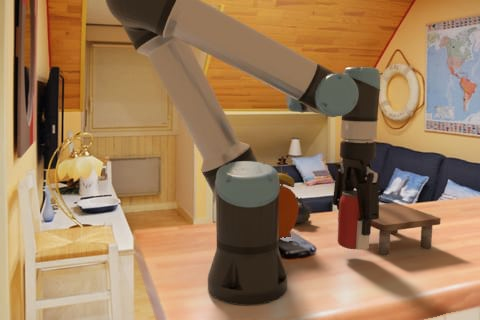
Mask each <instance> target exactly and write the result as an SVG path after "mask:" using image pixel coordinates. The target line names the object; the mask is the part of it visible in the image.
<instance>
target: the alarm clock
mask: <svg viewBox="0 0 480 320" xmlns="http://www.w3.org/2000/svg"><path fill="white" fill-rule="evenodd" d="M271 163H273V161H270V162H268V164H271ZM277 163H280V172H277V173H278V176H279V183H280V191H279V229H278V240H279V239H280V238H282V237H284V238H286V237H291V236H292V235H291V234H292V233H291V231H292V230H293V228H294V227H295V225H296V220H297V218H298V211H299V207H298V200H297V198H296V197H297V195H296V193H294V192H293V190H291V189H290V188H288V187H291V188H295V180H294V178H292V177H291V176H290V175H289V173H288V172H286V173H284V172H283V166H282V161H278V160H277ZM286 186H287V187H286Z"/></svg>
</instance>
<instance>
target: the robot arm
mask: <svg viewBox="0 0 480 320" xmlns="http://www.w3.org/2000/svg"><path fill="white" fill-rule="evenodd" d="M105 3H106V6H107V8H108V10H109V12H110V13H111V15H112V16H113V17H114V19H116V21H117V22H119V23H120V24H121V26H122V28H123V29H124V31H125V34H126V35H127V37H128V39H129V41H130V43H131V44H132V46H133V48H134V50H135V51H136V53H138V54H140V55H143V56H146V57H147V58H148V60H149V62H150V63H151V65H152V67H153V69H154V71H155V73H156V74H157V77H158V78H159V81H160V82H161V84H162V86H163V88H164V89H165V91H166V94H167V95H168V97H169V99H170V101H171V102H172V104H173V106H174V108H175V110H176V112H177V113H178V115H179V117H180V119H181V121H182V123H183V125H184V127H185V128H186V130H187V132H188V134H189V136H190V138H191V140H192V141H193V143H194V145H195V148H196V149H197V151H198V152H199V154H200V156H201V159H202V165H201V168H200V172H201V174H202V175H203V177H204V178H205V181H206V183H207V184H208V186H209V187H210V190H211V192H212V194H213V196H214V198H215V211H216V212H215V214H216V217H215V219H216V223H215V224H216V249H215V254H214V256H213V259H212V263H211V266H210V268H209V269H210V270H209V273H208V276H207V290H208V293H209V294H210V295H211V296H212V297H214V298H215V299H217V300H220V301H222V302H225V303H227V304H232V305H241V306H242V305H244V306H248V305H249V306H252V305H256V306H257V305H262V304H267V303H271V302H272V303H273V302H274V301H277V300H279V299H280V298H282V297H283V296H284V295H285V294H286V293H287V291H288V276H287V272H286V269H285V265H284V262H283V260H282V256H281V253H280V250H279V239H278V229H279V191H280V185H281V183H280V182H279V176H278V173H279V172H278V171H277V170H276V168H274V167H273V166H272V165H269V164H268V163H264V162H260V161H259V160H258V159H257V157H256V155H255V153H254V152H253V150H252V147H251V146H250V144H249V143H245V142H242V141H240V140H239V138H238V136H237V134H236V132H235V130H234V127H232V125H231V123H230V120H229V119H228V117H227V115H226V112H225V111H224V109H223V107H222V105H221V104H220V100H218V97H217V95H216V93H215V91H214V89H213V88H212V86H211V84H210V81H209V80H208V78H207V76H206V74H205V73H204V71H203V68H202V67H201V64H200V63H199V61H198V59H197V56H196V55H195V53H194V51H193V50H192V47H194V48H196V49H197V50H200V51H201V52H204V53H206V54H208V55H209V56H211V57H213V58H215V59H217V60H219V61H221V62H222V63H225V64H227V65H228V66H231V67H232V68H234V69H235V70H238V71H240V72H243V73H244V74H246V75H248V76H250V77H252V78H253V79H256V80H258V81H260V82H261V83H263V84H265V85H267V86H269V87H271V88H272V89H275V90H276V91H279V92H281V93H282V94H284V95H286V98H285V99H286V107H287V109H288V110H289V111H290V112H294V113H295V112H296V113H315V114H319V115H325V116H327V117H329V118H335V117H336V118H337V117H341V120H340V121H341V122H340V123H341V124H340V138H341V139H342V140H341V141H340V144H339V146H340V147H339V156H340V158H341V159H343V162H342V163H335V165H334V168H335V177H334V178H335V179H334V187H333V189H334V190H333V196H332V205H333V206H336V209H337V210H338V213H337V221H338V223H339V203H340V199H341V197H342V194H343V193H342V192H343V191H352V190H357V197H358V204H359V212H360V218H357V219H358V222H357V239H356V249H355V250H358V251H360V250H368V249H370V235H371V232H372V230H371V229H372V227H371V221H372V220H374V219H378V218H379V204H380V182H381V177H382V173H381V172H377V171H376V172H375V171H374V170H373V168H372V161H373V160H375V159H376V156H377V154H376V153H377V143H376V142H375V141H376V140H377V133H378V119H379V106H380V105H379V103H380V93H381V73H380V71H379V69H378V68H376V67H361V66H352V67H345V69H344V71H343V73H342V72H334V71H332V70H331V69H329V68H326V67H325V66H323V65H320V64H318V63H317V62H315V61H314V60H312V59H310V58H308V57H306V56H304V55H303V54H301V53H299V52H298V51H295V50H293V49H292V48H290V47H288V46H286V45H284V44H282V43H281V42H280V41H279V42H278V41H276V40H275V39H273V38H271V37H269V36H268V35H266V34H263V33H262V32H260V31H259V30H257V29H255V28H253V27H252V26H251V27H250V26H249V25H248V24H245V23H243V22H242V21H240V20H238V19H237V18H234V17H233V16H231V15H229V14H227V13H225V12H223V11H222V10H219V9H217V8H216V7H215V6H212V5H211V4H208V3H207V2H205V1H203V0H105ZM191 46H192V47H191ZM365 213H366V215H365Z"/></svg>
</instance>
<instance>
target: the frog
mask: <svg viewBox="0 0 480 320" xmlns="http://www.w3.org/2000/svg"><path fill="white" fill-rule="evenodd" d="M296 198H297V200H298V207H299V211H298V218H297V220H296V223H298V224H299V223H301V222H302V223H303V222H307V221H308V220H309V219H310V218H311V213H312V212H313V211H314V210H313V207H311V206H308V205H307V204H305V203H304V202H303V198H302V197H300V198H299V197H298V196H296ZM296 223H295V224H296Z"/></svg>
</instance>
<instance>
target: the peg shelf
mask: <svg viewBox="0 0 480 320" xmlns="http://www.w3.org/2000/svg"><path fill="white" fill-rule="evenodd" d="M441 218H442V217H441ZM441 218H440V217H439V216H434V215H433V214H429V213H426V212H423V211H420V210H418V209H415V208H412V207H410V206H407V205H404V204H400V203H398V202H390V203H379V218H378V219H374V220H372V221H371V228H373V229H376V230H379V233H378V234H379V235H378V237H379V238H378V254H379V255H380V256H389V255H390V253H391V251H390V248H391V235H398V234H399V231H401V230H407V229H408V230H409V229H417V228H421V229H420V244H419V245H420V246H419V247H420V248H422V249H425V250H431V249H432V242H433V241H432V239H433V226H437V225H441Z"/></svg>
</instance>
